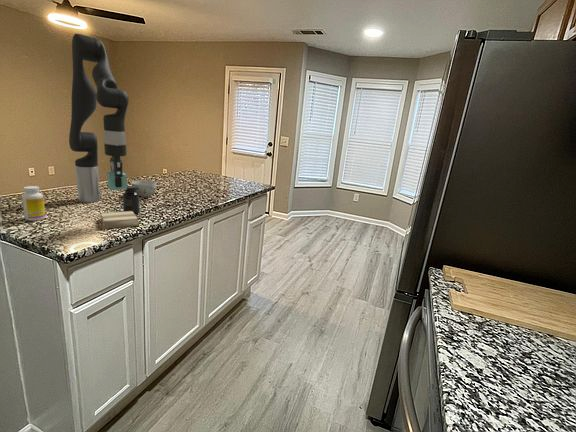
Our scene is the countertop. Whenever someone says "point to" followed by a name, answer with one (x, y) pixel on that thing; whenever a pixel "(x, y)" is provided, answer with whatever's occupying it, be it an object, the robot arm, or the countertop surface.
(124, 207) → the supplement bottle
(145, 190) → the teacup
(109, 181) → the teal cube
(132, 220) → the birch pedestal
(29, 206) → the supplement bottle
